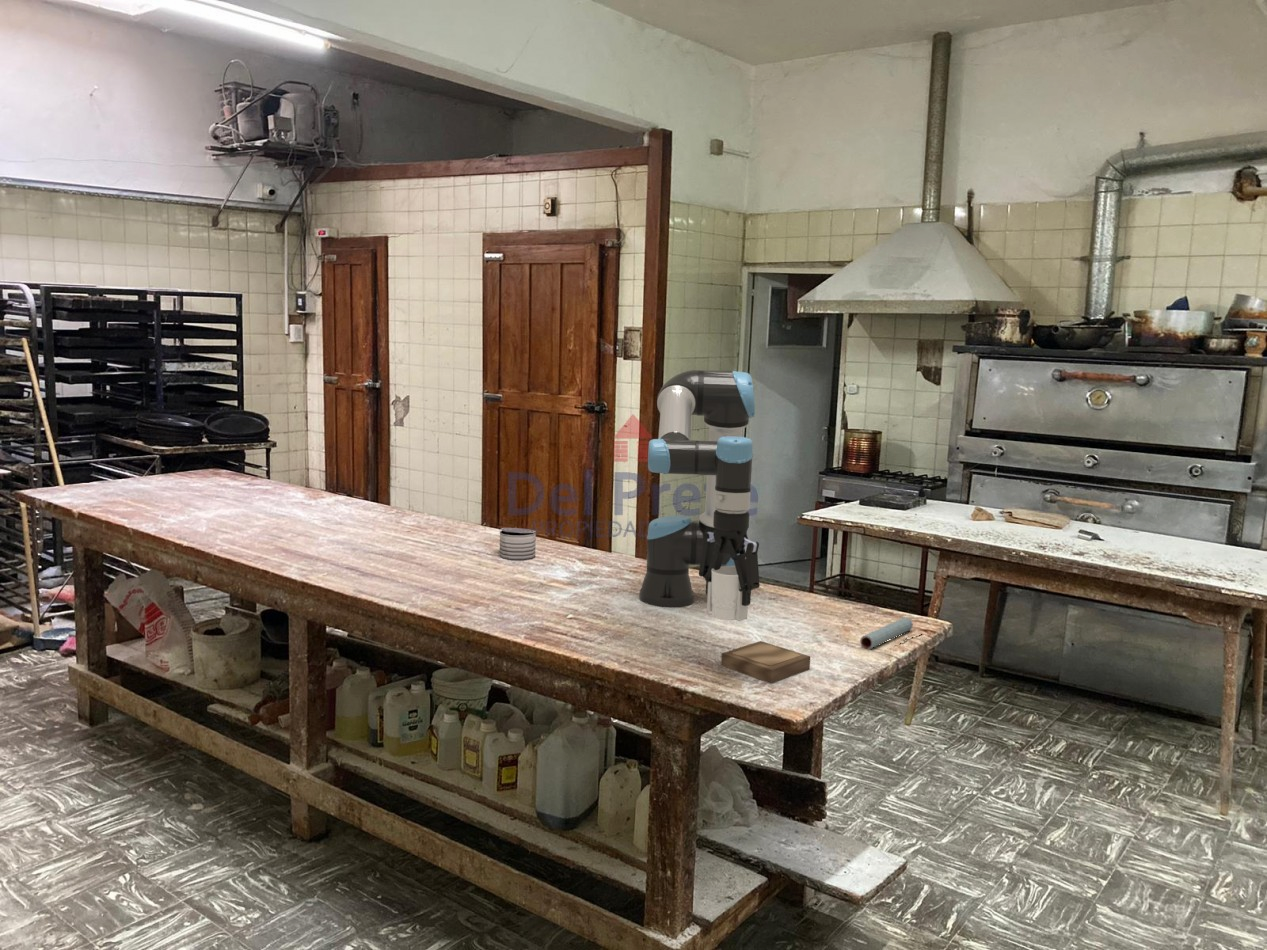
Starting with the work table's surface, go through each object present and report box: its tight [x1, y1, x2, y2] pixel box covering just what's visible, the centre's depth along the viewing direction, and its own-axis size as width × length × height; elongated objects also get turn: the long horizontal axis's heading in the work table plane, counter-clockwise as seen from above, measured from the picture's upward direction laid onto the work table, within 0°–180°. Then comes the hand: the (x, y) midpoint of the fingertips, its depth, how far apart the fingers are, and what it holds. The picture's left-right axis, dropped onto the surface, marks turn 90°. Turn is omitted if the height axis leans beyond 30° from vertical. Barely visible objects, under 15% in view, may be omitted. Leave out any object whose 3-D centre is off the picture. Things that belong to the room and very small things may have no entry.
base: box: [720, 640, 811, 684], centre depth 211 cm, size 14×14×3 cm
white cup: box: [711, 566, 741, 621], centre depth 202 cm, size 8×8×10 cm
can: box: [498, 527, 537, 562], centre depth 298 cm, size 11×11×12 cm
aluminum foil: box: [859, 616, 914, 650], centre depth 235 cm, size 23×7×3 cm, turn 139°
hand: (726, 614), depth 202 cm, fingers closed on white cup, 8 cm apart
